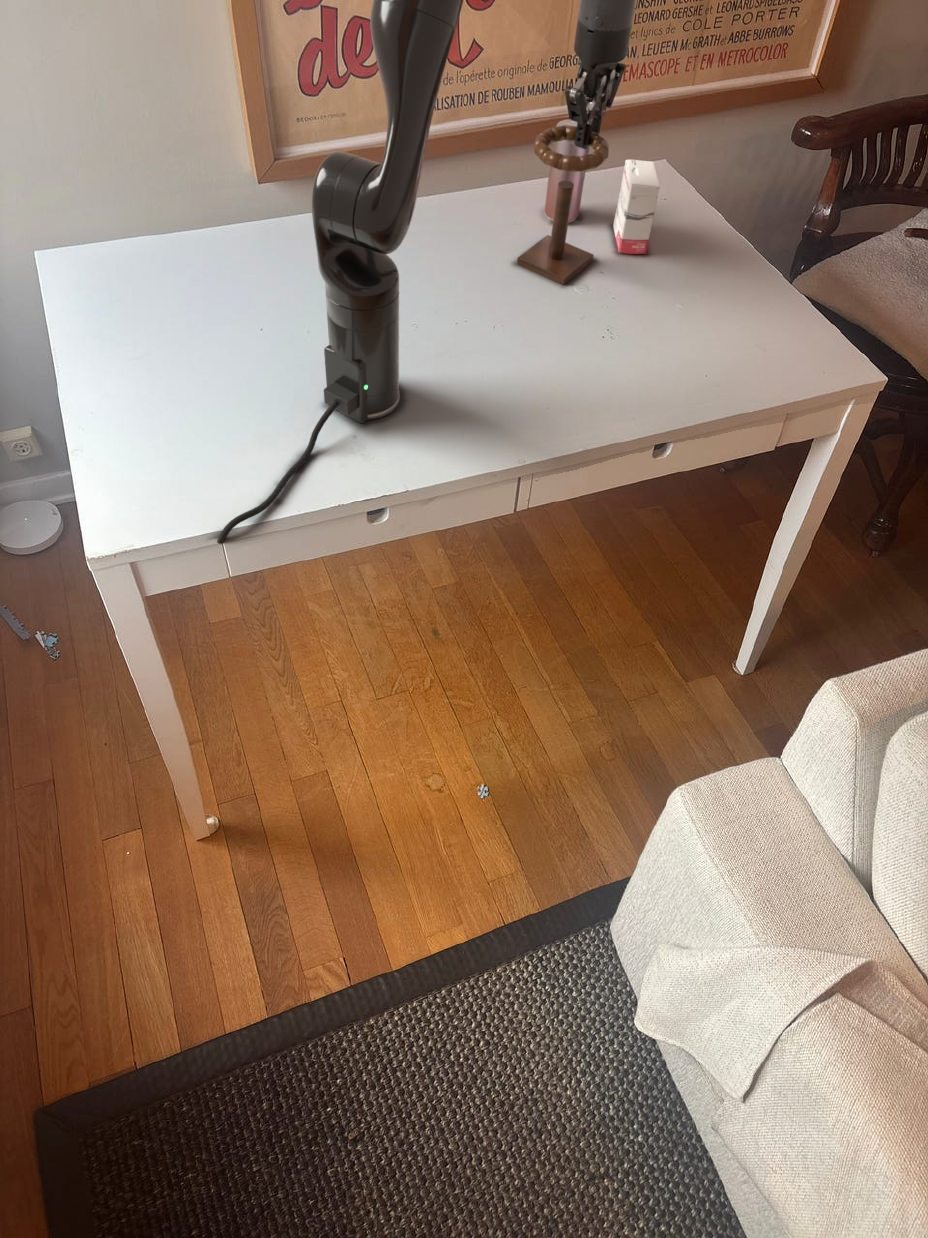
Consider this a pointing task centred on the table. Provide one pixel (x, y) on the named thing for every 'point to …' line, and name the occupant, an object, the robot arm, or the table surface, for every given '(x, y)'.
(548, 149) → the ring
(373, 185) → the robot arm
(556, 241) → the post
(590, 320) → the table surface
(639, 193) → the ink box
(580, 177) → the beverage can
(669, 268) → the table surface
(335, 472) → the table surface
